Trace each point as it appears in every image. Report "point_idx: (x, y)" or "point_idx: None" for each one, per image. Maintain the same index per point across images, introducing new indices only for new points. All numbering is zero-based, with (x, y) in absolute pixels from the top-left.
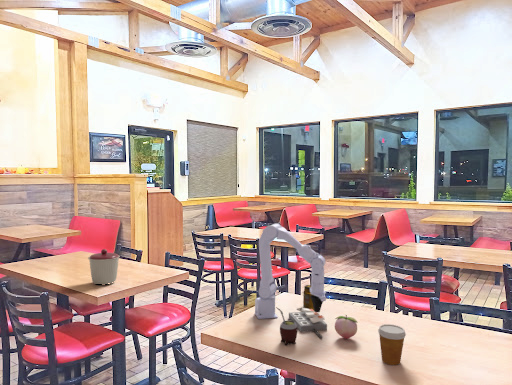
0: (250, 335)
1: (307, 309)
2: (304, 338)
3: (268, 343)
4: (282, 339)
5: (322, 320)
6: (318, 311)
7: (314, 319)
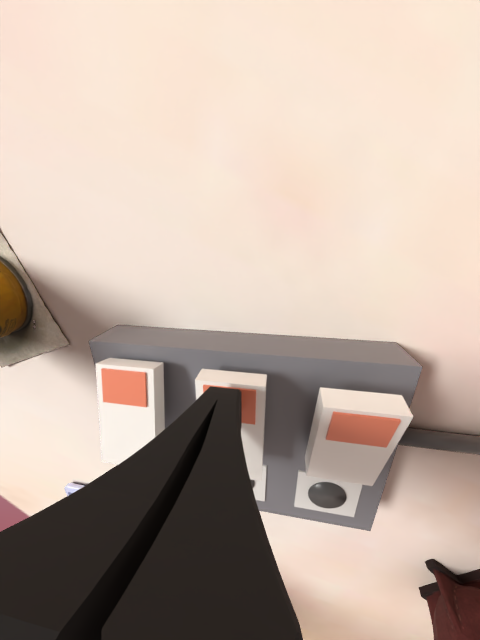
0: (312, 626)
1: (125, 426)
2: (455, 513)
3: (420, 625)
4: (434, 602)
5: (317, 362)
6: (239, 407)
7: (359, 470)
